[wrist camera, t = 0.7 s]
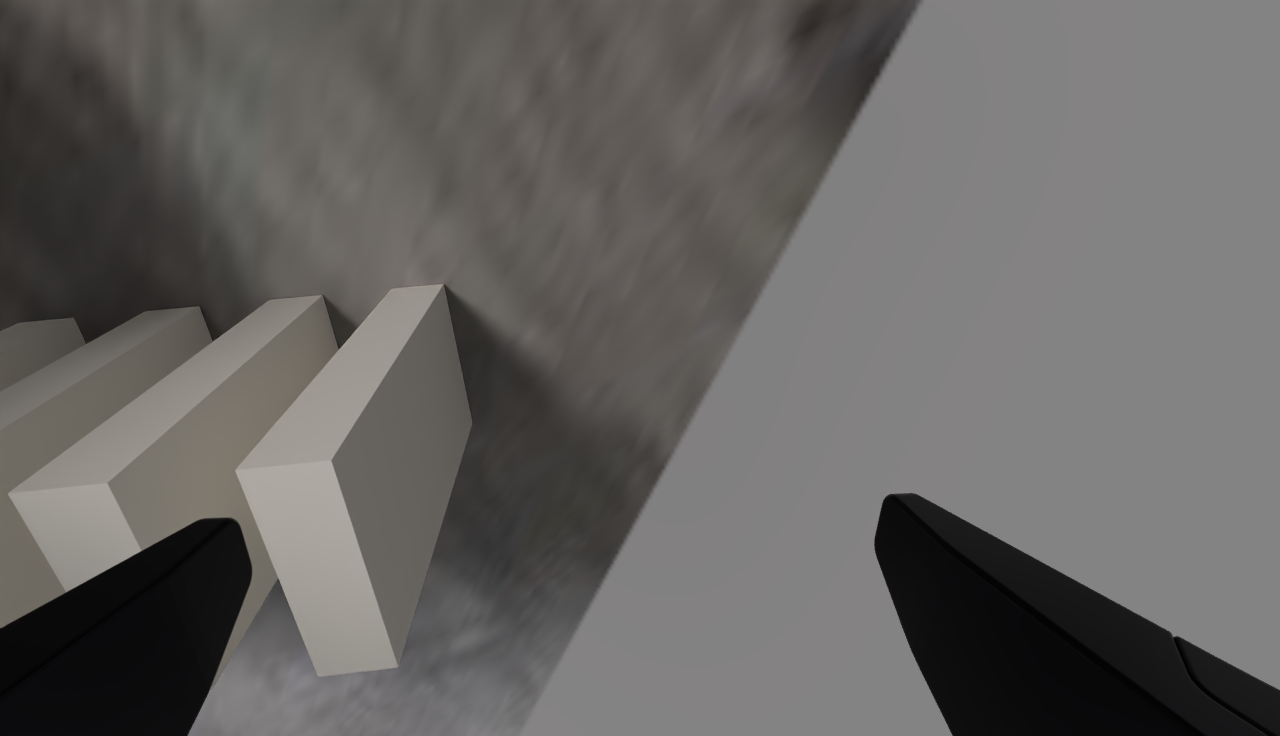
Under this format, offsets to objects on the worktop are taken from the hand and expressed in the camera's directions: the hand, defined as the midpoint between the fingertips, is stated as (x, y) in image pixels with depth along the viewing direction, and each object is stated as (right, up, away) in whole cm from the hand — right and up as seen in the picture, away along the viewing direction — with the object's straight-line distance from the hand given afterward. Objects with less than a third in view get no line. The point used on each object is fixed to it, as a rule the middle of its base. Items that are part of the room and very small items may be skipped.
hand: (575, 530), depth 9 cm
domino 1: (-6, +3, +12) cm, 14 cm away
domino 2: (-10, +2, +12) cm, 15 cm away
